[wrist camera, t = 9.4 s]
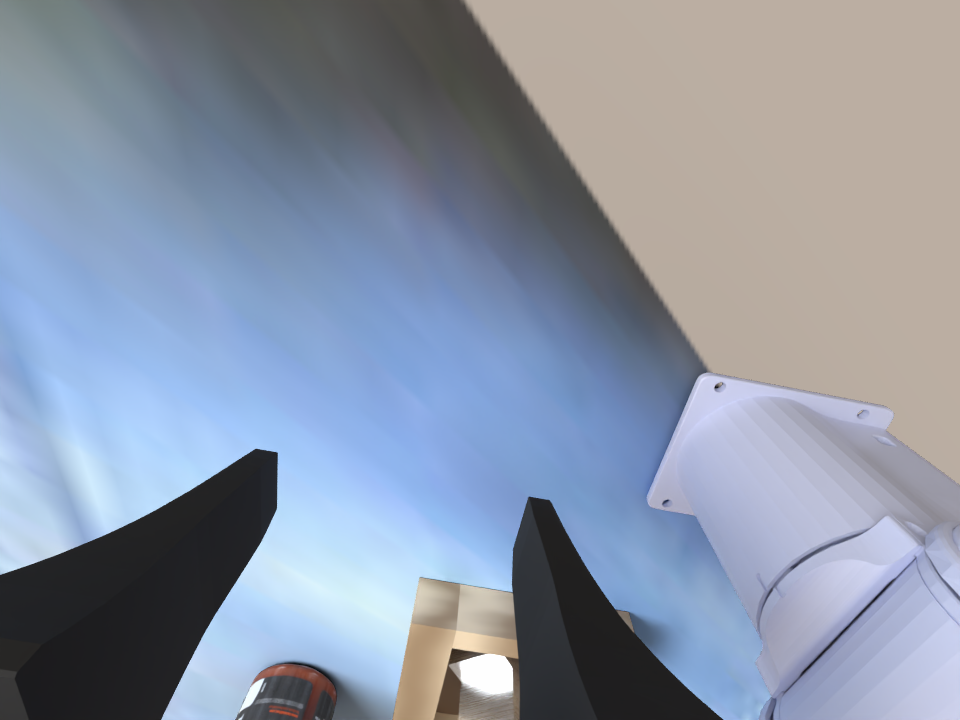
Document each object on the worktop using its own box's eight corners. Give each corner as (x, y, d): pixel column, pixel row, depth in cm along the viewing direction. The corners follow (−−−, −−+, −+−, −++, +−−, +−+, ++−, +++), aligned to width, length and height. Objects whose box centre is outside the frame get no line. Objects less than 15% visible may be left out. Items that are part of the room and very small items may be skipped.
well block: (628, 612, 29) (642, 660, 26) (568, 740, 35) (574, 790, 32) (419, 577, 29) (411, 623, 26) (393, 713, 34) (384, 762, 32)
